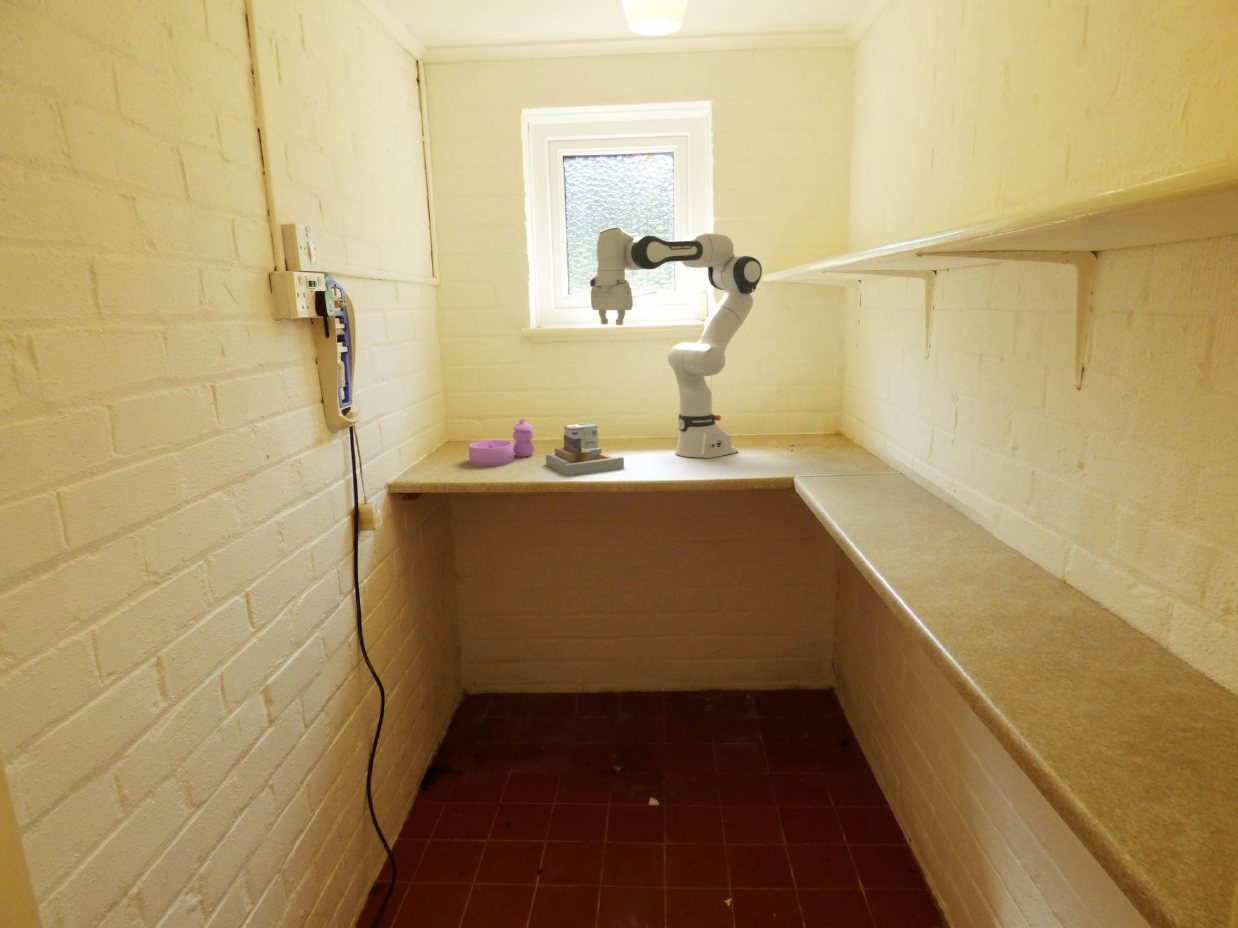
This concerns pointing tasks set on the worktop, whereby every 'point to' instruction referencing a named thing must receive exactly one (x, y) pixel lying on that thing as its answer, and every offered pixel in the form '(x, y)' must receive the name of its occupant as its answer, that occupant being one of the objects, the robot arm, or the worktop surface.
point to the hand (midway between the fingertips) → (611, 324)
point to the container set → (502, 448)
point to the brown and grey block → (573, 450)
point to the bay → (585, 463)
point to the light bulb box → (584, 434)
